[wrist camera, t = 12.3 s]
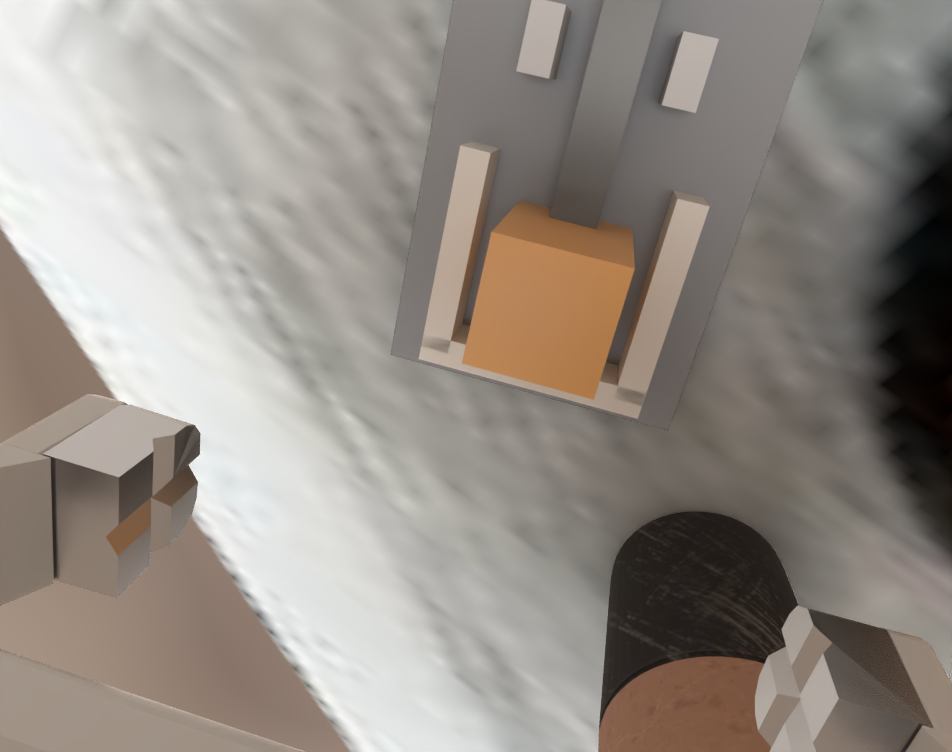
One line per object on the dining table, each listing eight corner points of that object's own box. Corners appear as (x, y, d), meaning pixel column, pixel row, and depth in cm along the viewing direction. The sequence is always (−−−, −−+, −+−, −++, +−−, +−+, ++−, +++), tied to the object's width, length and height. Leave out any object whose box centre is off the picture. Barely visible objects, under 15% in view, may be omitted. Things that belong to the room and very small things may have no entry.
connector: (600, 335, 27) (594, 399, 21) (494, 307, 27) (461, 363, 22) (773, -235, 20) (830, -356, 14) (629, -263, 20) (632, -391, 15)
